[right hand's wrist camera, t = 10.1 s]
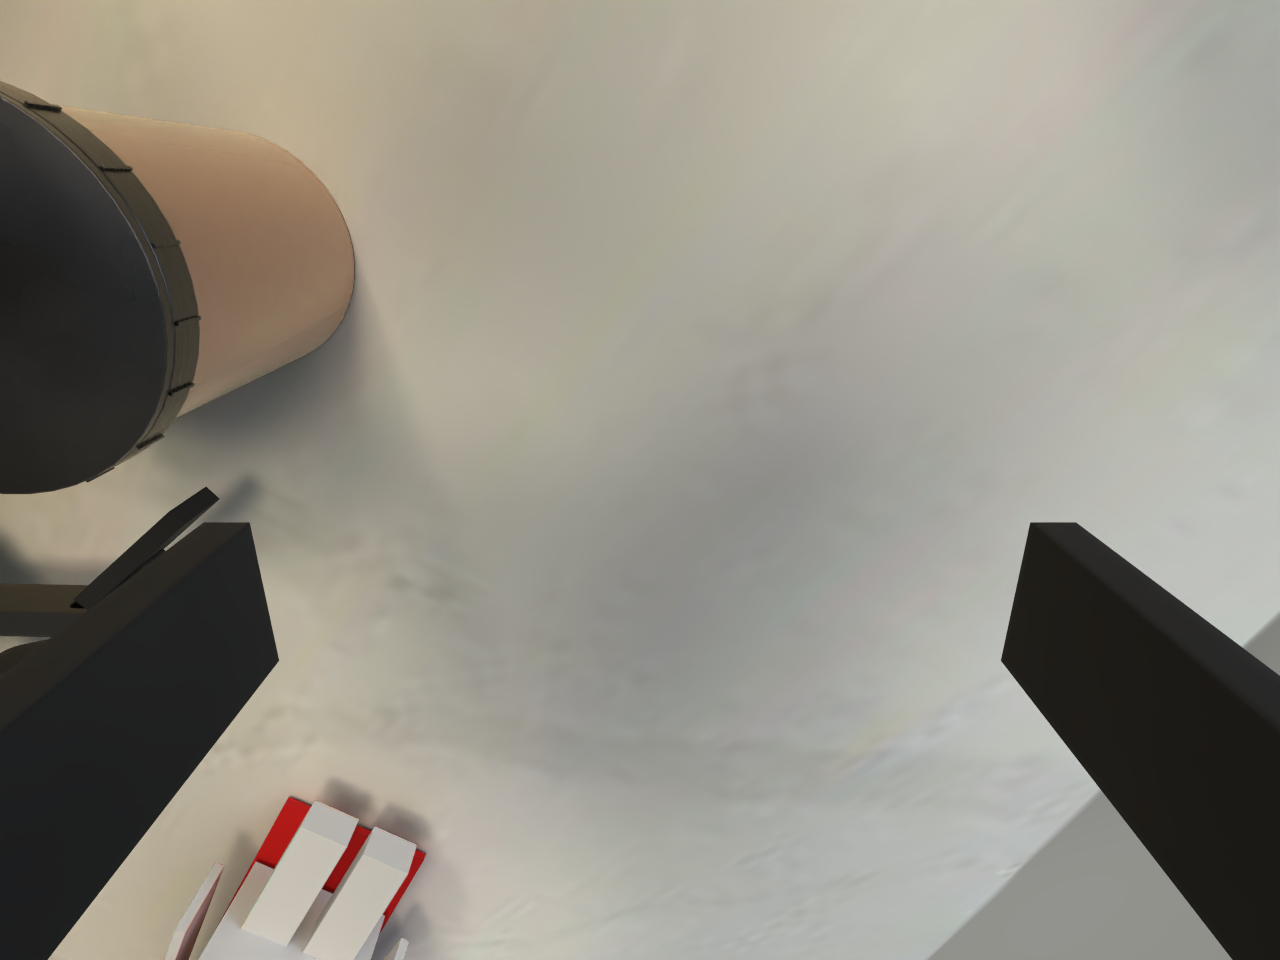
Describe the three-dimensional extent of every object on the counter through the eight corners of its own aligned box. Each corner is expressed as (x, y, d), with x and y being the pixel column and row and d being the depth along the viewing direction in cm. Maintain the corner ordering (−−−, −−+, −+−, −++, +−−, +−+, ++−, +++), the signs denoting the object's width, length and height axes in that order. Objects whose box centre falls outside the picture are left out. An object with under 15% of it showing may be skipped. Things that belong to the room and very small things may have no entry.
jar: (175, 77, 31) (-199, -13, 17) (393, 220, 33) (216, 242, 19) (95, 285, 34) (-275, 349, 20) (299, 404, 36) (89, 535, 22)
